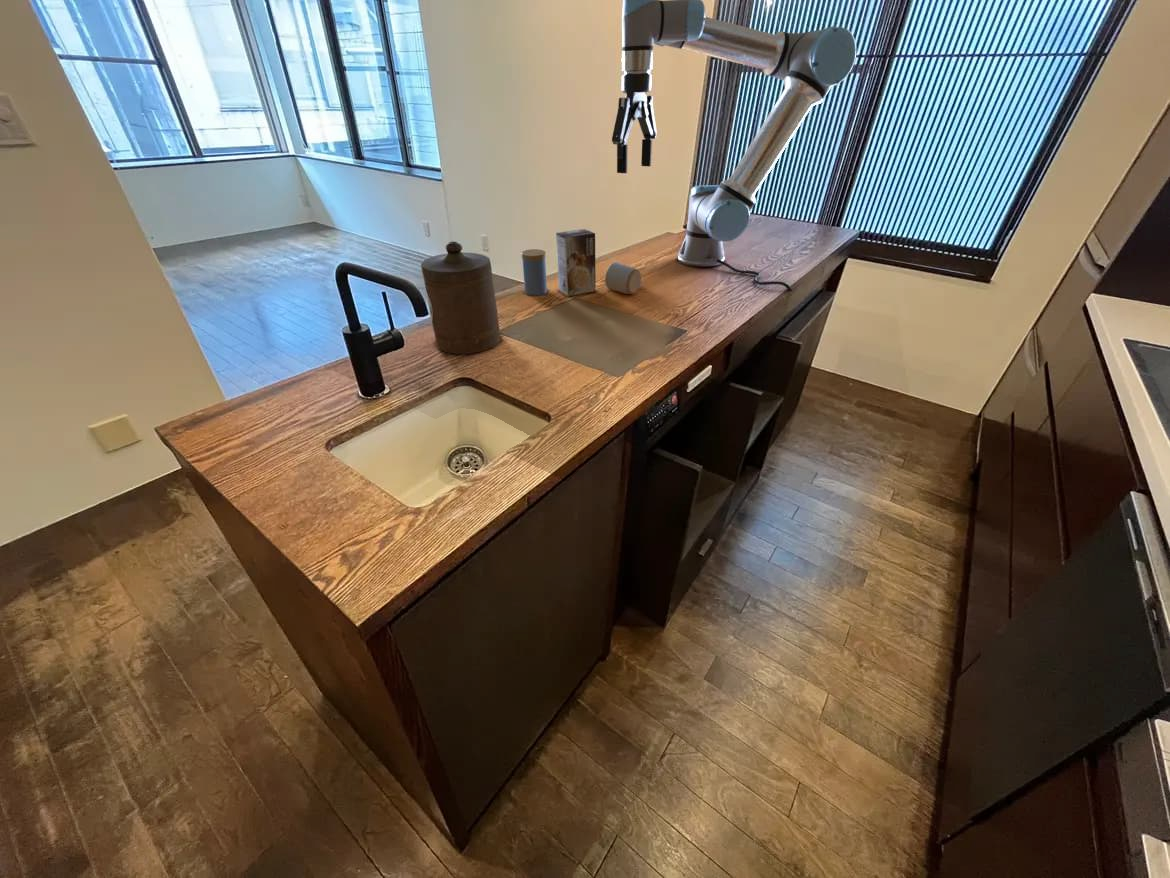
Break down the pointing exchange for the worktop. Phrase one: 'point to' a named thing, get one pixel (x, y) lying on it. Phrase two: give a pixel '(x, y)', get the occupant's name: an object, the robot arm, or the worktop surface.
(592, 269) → the coffee box
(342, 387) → the worktop surface
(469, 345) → the wooden container
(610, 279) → the ceramic mug
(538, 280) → the tea tin
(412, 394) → the worktop surface
